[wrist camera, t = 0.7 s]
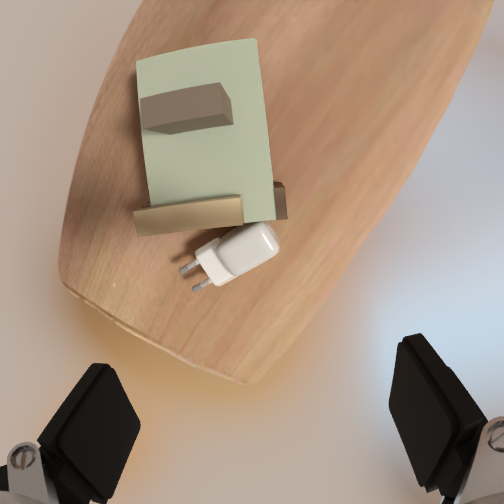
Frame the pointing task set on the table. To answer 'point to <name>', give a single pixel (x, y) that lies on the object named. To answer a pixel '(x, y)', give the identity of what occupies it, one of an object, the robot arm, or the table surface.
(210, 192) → the lid
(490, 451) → the robot arm
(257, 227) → the power adapter
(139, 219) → the tan rectangular block
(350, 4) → the table surface
